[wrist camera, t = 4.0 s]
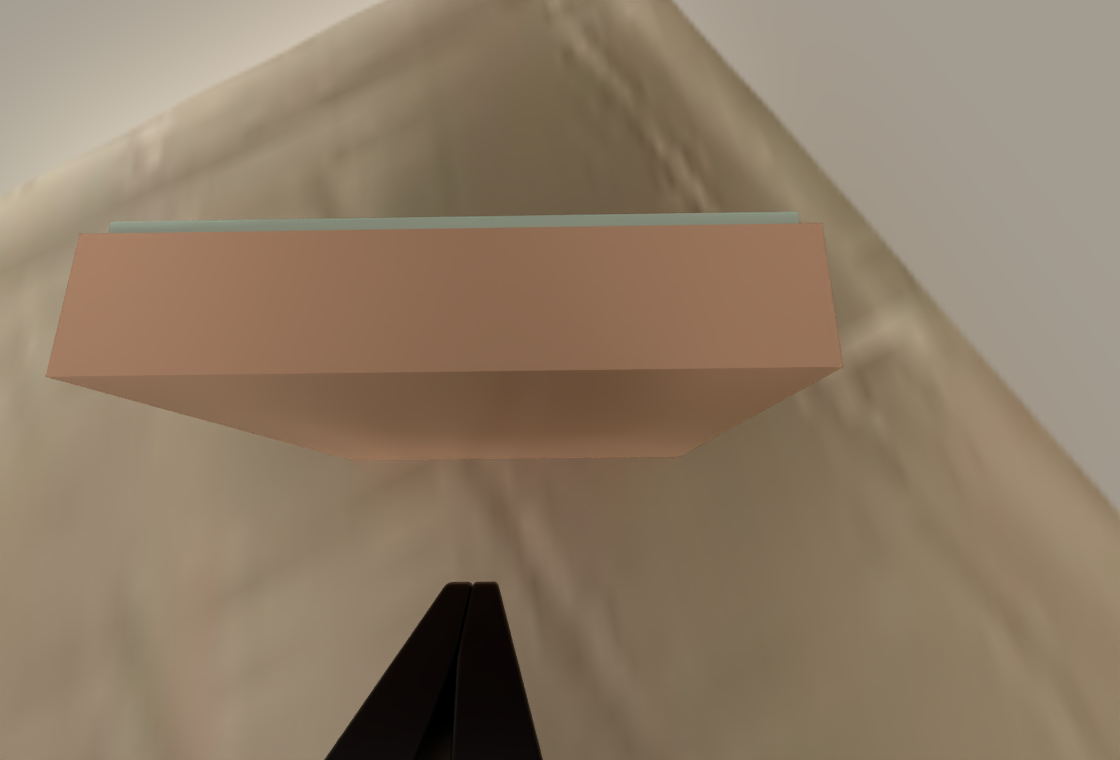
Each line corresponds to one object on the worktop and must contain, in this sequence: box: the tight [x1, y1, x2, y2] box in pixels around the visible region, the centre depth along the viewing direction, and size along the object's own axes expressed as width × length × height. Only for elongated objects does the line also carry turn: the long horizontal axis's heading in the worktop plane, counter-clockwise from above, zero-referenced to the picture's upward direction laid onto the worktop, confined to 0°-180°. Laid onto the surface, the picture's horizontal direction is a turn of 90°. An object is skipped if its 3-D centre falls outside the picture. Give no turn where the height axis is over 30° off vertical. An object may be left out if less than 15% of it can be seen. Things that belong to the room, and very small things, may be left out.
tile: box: [46, 212, 843, 460], centre depth 12 cm, size 2×10×10 cm, turn 91°
